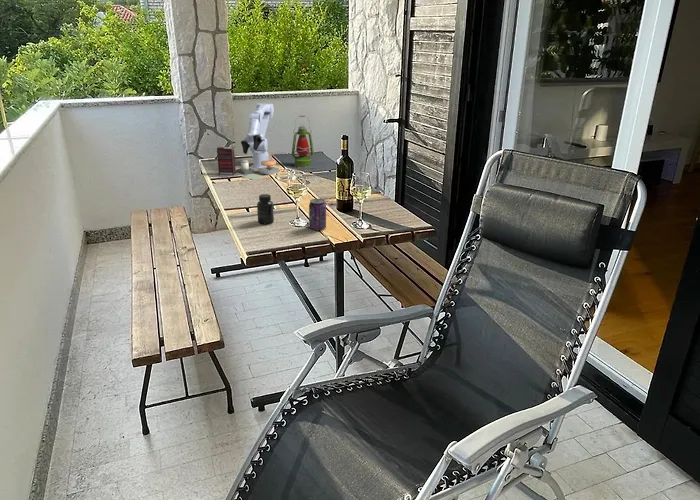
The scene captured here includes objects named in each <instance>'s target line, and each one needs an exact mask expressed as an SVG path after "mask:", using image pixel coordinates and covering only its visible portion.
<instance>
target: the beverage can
mask: <svg viewBox="0 0 700 500" xmlns="http://www.w3.org/2000/svg"><path fill="white" fill-rule="evenodd" d="M308 224H309V225H308V227H309V229H312V230H314V231H320V230H321V231H322V230H323V229H325V228H326V227H327V204H326V200H325V199H324V198H312V199H310V200H309V204H308Z"/></svg>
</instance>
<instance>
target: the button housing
mask: <svg viewBox="0 0 700 500" xmlns="http://www.w3.org/2000/svg"><path fill="white" fill-rule="evenodd" d="M270 167H271V169H267V166H266V167H262V168H258V173H259V174H260V175H265V176H272V175H275V174H279V172H280V169H279V167H276V166H270Z"/></svg>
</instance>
